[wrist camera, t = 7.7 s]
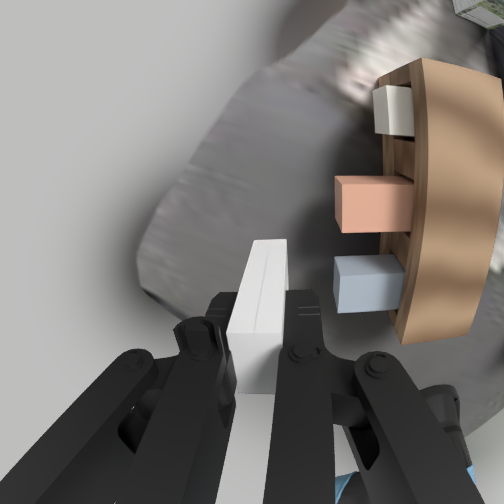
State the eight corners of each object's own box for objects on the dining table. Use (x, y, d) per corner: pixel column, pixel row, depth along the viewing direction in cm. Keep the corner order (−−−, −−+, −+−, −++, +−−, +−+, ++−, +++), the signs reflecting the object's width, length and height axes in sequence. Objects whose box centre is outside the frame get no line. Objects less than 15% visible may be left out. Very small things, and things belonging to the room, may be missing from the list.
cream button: (455, 140, 21) (477, 144, 18) (375, 133, 23) (389, 134, 19) (454, 101, 20) (475, 100, 16) (372, 90, 21) (386, 85, 17)
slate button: (410, 286, 28) (422, 306, 25) (333, 290, 30) (337, 313, 26) (415, 253, 27) (430, 271, 23) (334, 256, 28) (340, 276, 24)
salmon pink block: (420, 216, 25) (437, 230, 21) (335, 217, 26) (342, 233, 23) (422, 177, 23) (441, 186, 20) (334, 176, 25) (342, 184, 21)
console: (430, 281, 32) (467, 334, 22) (375, 285, 33) (400, 344, 23) (442, 86, 22) (500, 79, 12) (378, 78, 23) (421, 57, 13)
